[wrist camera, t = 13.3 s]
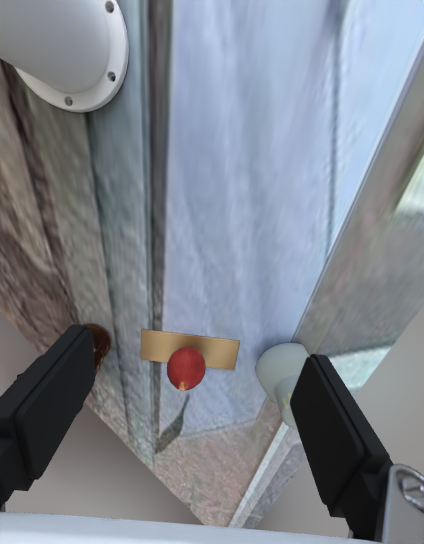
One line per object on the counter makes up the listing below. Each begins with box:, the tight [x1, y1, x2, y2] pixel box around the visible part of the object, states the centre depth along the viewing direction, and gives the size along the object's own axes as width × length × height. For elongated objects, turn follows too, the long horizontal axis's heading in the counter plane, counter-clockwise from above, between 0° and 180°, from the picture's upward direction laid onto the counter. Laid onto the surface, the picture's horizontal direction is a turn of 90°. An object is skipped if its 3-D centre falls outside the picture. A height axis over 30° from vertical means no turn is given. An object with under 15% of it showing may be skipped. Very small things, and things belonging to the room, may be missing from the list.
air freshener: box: [255, 343, 310, 430], centre depth 35 cm, size 11×8×10 cm
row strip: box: [141, 329, 240, 370], centre depth 39 cm, size 16×6×1 cm, turn 83°
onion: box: [167, 347, 205, 391], centre depth 35 cm, size 6×6×8 cm
